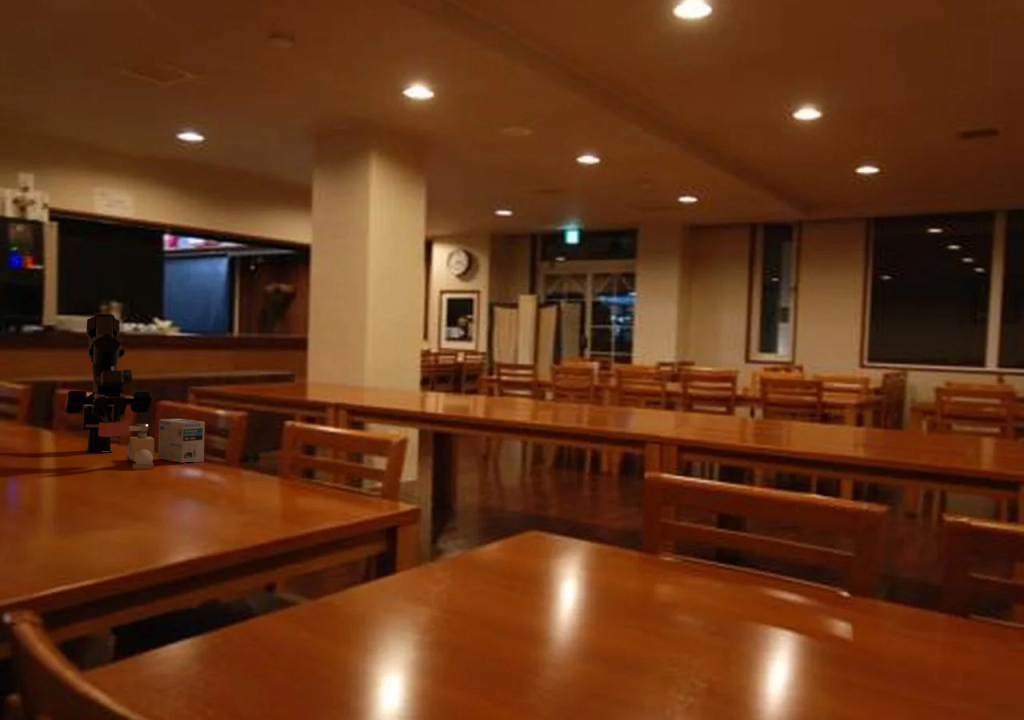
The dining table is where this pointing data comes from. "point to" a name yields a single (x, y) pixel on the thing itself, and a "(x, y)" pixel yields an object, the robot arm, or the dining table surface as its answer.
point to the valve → (141, 451)
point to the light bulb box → (181, 440)
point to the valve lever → (119, 428)
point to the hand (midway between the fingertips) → (112, 428)
